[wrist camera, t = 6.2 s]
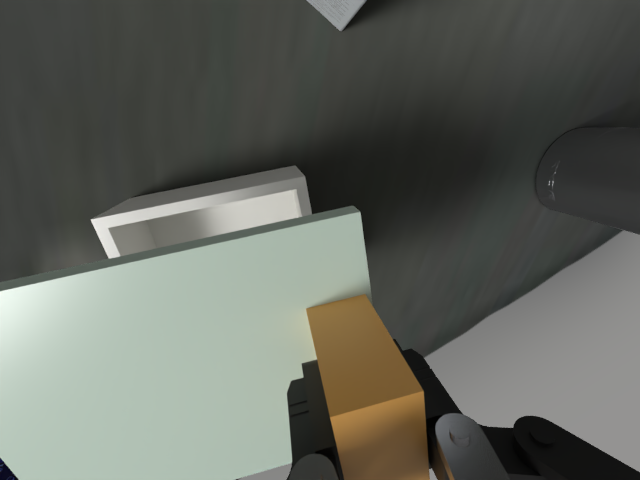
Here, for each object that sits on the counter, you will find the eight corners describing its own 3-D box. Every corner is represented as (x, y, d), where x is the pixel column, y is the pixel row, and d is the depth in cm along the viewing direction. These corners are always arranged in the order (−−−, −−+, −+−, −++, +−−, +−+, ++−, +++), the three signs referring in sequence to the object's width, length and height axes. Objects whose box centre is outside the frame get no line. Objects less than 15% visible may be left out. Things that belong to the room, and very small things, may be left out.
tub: (295, 165, 29) (305, 176, 22) (315, 267, 33) (328, 302, 26) (131, 197, 27) (90, 219, 21) (173, 301, 31) (150, 346, 25)
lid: (345, 198, 13) (426, 269, 7) (375, 398, 18) (441, 562, 11) (-52, 284, 12) (-462, 486, 5) (87, 479, 16) (-38, 725, 10)
